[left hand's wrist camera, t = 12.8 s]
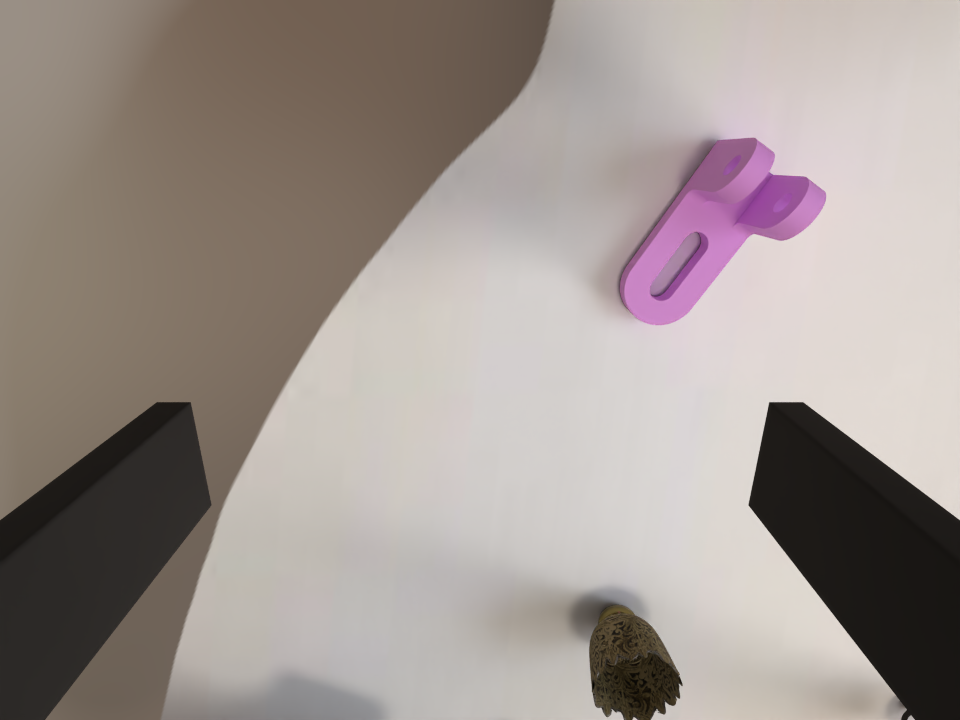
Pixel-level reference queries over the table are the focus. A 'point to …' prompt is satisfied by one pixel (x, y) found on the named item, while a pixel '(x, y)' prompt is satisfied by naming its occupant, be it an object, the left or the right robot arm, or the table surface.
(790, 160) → the table surface
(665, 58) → the table surface
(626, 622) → the cup
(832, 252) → the table surface
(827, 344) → the table surface
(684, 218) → the bracket
